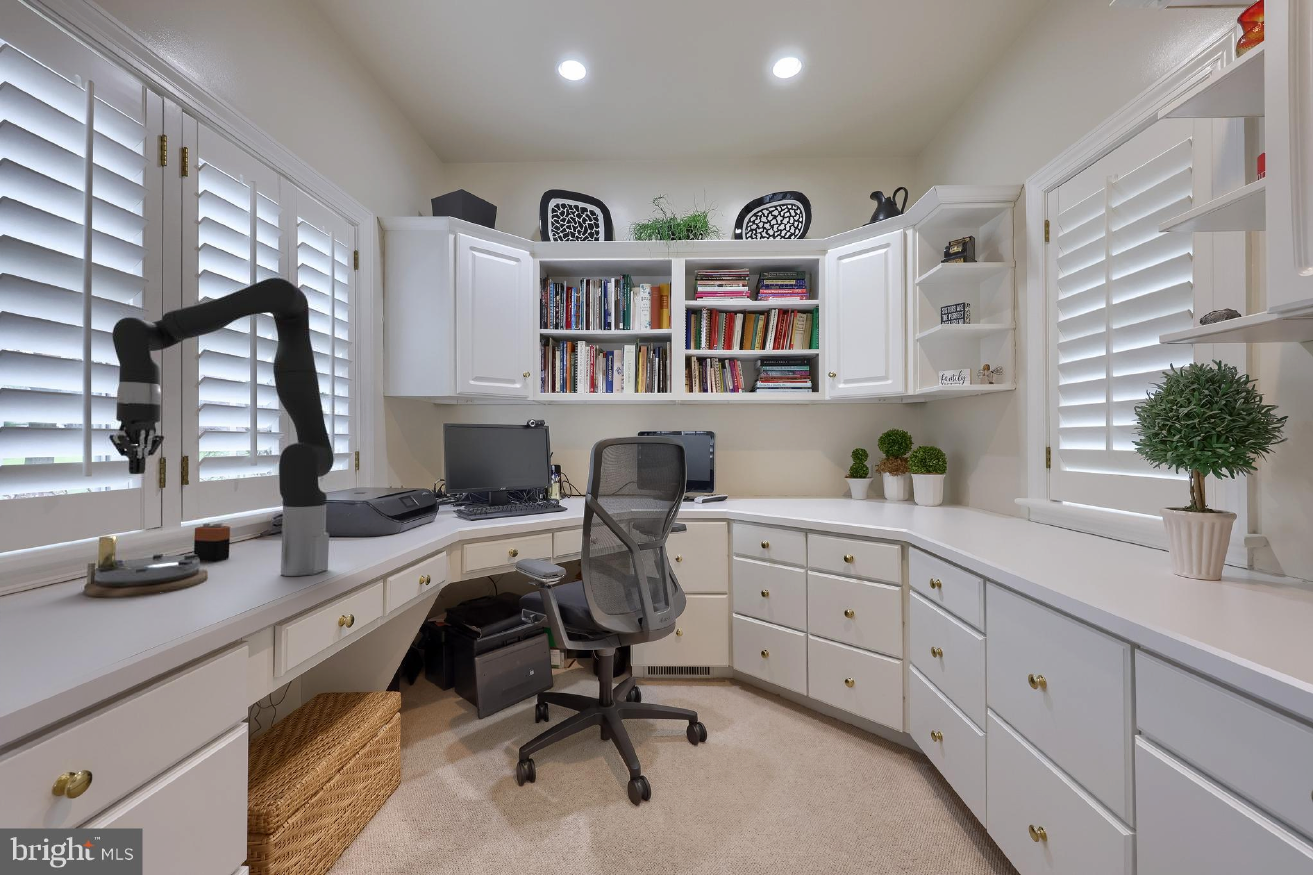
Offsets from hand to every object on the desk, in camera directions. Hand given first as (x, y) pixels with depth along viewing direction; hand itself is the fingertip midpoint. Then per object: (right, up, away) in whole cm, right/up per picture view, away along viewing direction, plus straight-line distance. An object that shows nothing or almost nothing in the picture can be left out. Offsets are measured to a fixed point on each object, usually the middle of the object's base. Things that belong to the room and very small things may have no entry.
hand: (136, 473), depth 124 cm
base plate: (+10, -25, -7) cm, 28 cm away
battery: (+2, -25, +18) cm, 31 cm away
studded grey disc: (+10, -23, -7) cm, 26 cm away
